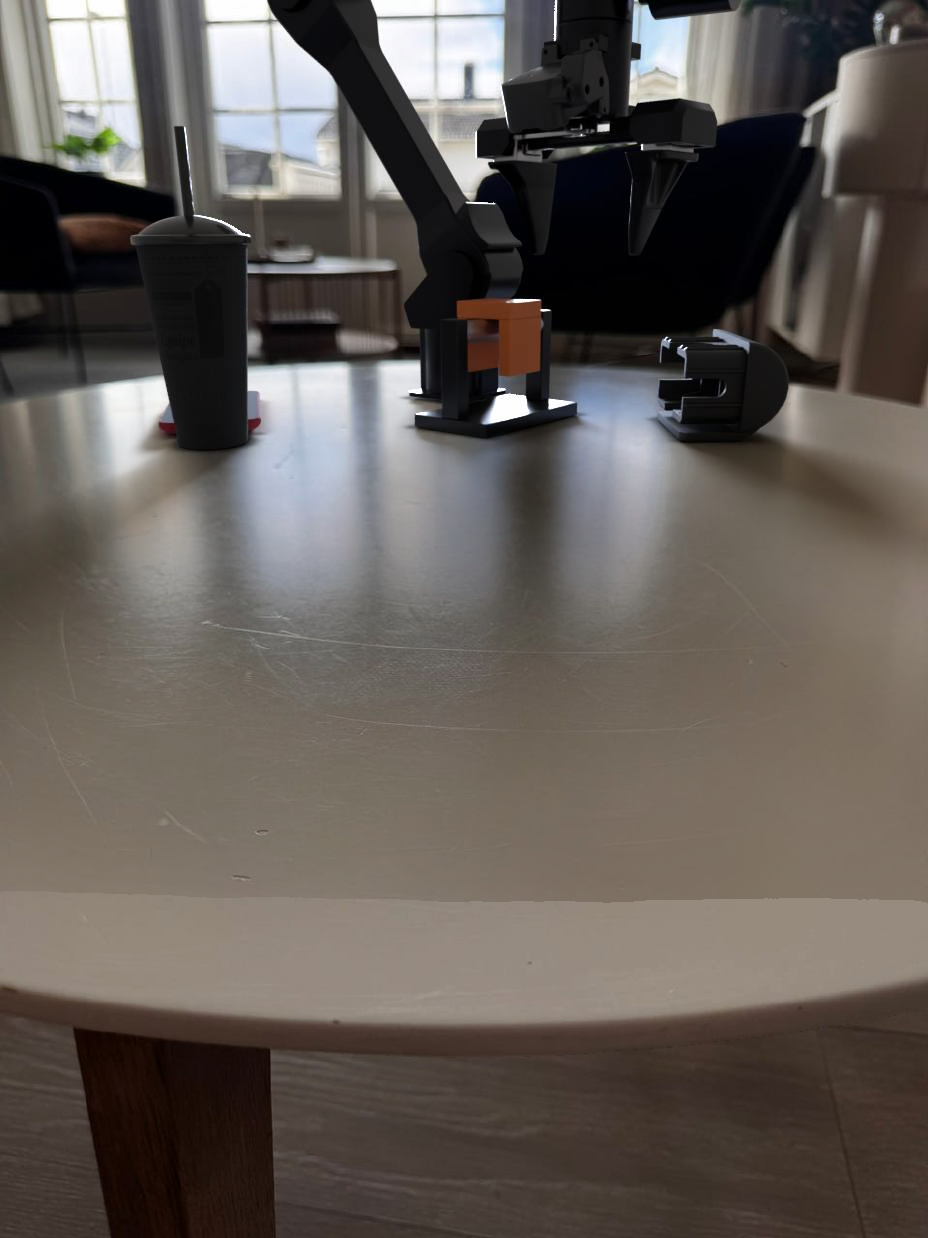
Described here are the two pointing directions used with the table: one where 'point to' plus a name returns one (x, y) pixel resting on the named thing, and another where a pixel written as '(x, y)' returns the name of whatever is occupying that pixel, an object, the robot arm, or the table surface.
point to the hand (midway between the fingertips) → (584, 254)
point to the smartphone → (253, 414)
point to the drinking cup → (199, 318)
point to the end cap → (720, 387)
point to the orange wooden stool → (505, 335)
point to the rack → (496, 411)
